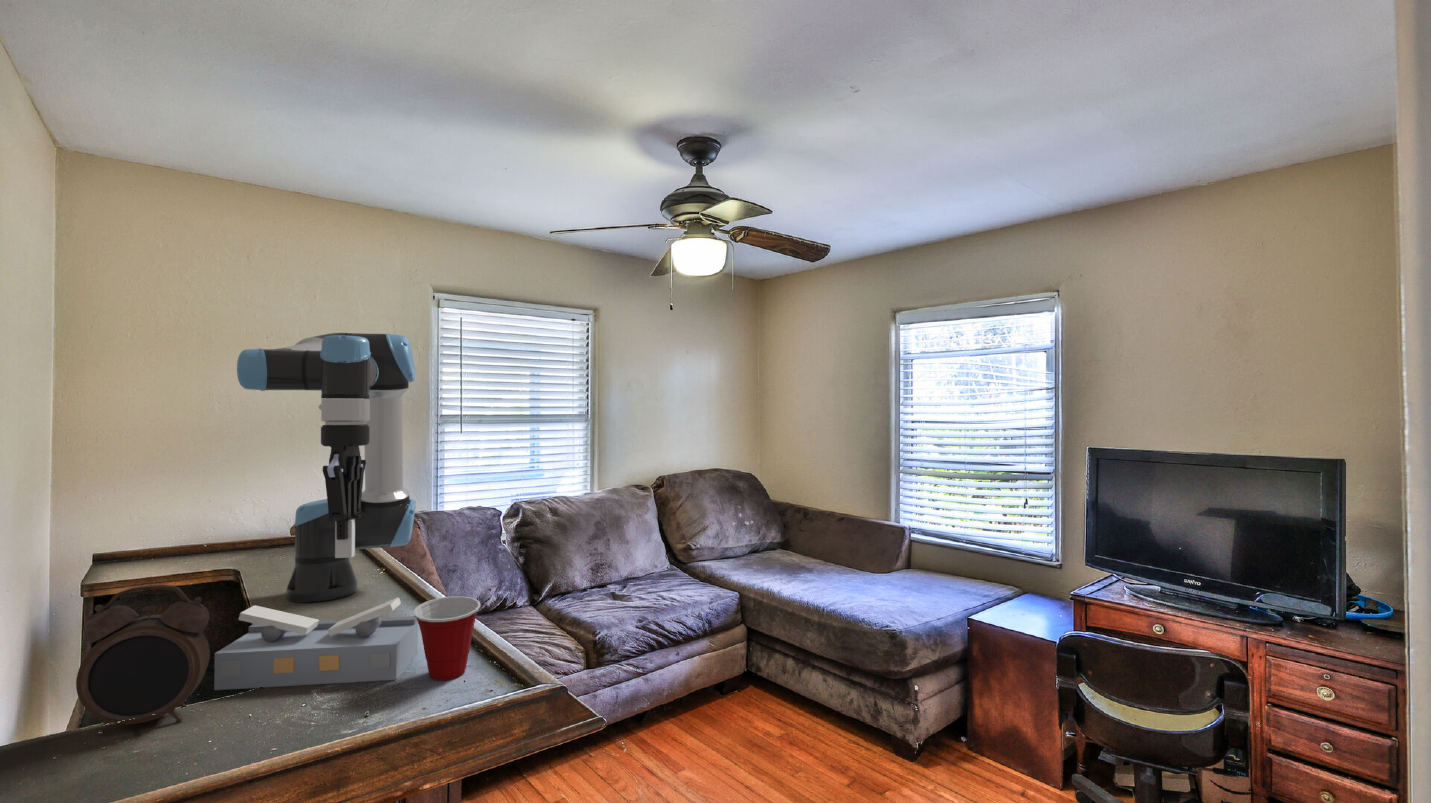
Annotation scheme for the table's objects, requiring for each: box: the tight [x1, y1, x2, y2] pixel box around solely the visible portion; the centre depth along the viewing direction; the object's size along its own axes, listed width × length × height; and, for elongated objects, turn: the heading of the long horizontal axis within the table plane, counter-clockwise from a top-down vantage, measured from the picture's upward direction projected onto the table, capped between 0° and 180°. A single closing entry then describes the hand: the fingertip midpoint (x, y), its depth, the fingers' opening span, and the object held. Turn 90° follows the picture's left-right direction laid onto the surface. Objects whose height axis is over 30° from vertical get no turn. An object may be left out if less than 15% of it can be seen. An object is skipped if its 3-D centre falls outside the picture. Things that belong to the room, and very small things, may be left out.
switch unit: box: [213, 615, 419, 691], centre depth 115 cm, size 12×28×7 cm, turn 99°
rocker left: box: [238, 604, 320, 642], centre depth 114 cm, size 4×11×4 cm, turn 99°
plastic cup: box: [413, 595, 481, 681], centre depth 114 cm, size 11×11×12 cm
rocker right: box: [327, 597, 402, 637], centre depth 116 cm, size 4×11×4 cm, turn 99°
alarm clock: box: [75, 584, 211, 733], centre depth 96 cm, size 15×7×20 cm, turn 117°
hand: (345, 556), depth 116 cm, fingers closed
